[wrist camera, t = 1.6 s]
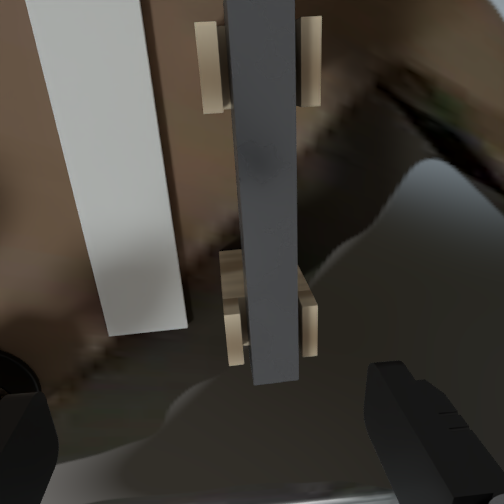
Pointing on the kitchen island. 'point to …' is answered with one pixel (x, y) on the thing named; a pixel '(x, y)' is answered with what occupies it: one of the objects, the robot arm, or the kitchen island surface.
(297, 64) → the post
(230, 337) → the post
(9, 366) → the french press
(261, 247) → the rail
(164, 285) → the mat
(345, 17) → the kitchen island surface
